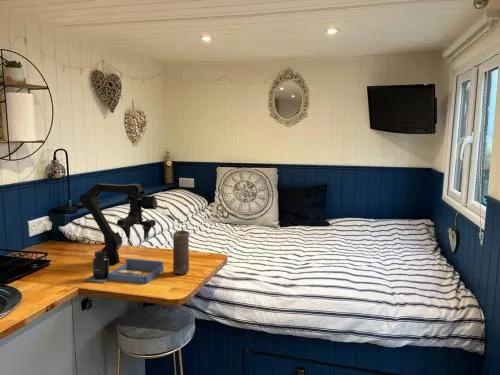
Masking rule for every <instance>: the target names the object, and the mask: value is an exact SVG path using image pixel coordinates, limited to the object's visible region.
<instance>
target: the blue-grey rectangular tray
mask: <svg viewBox="0 0 500 375" xmlns="http://www.w3.org/2000/svg"><path fill="white" fill-rule="evenodd" d="M125 261H126V262H125V263H123V265H121V266H119V267H117V268H115V269H114V270H112V271H109V273H108V279H109V281H112V282H113V281H114V282H124V283H133V284H144V285H146V284H148V283H150V282H151V281H152V280H154V279H155V278H157V277H158V276H160V275H161V274H162V273H164V261H163V260H162V261H161V260H149V259H139V258H138V259H137V258H125ZM120 270H130V271H141V272H149V273H148V274H146V275H143V276H137V275H127V274H118V271H120Z"/></svg>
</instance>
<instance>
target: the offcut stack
mask: <svg viewBox="0 0 500 375" xmlns="http://www.w3.org/2000/svg"><path fill="white" fill-rule="evenodd" d="M143 272H144V271H140V270H130V269H128V270H120V271H118V274H127V275H137V276H144V275H143Z"/></svg>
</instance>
